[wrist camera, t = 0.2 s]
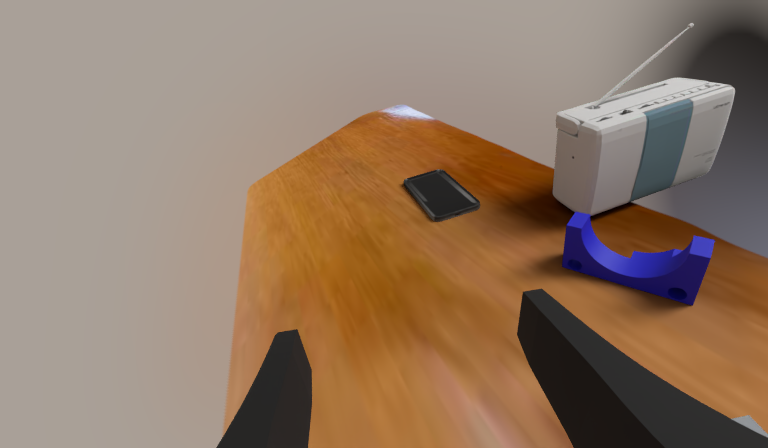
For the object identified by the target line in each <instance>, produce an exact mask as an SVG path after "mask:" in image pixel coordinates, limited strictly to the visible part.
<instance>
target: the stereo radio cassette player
mask: <svg viewBox="0 0 768 448" xmlns="http://www.w3.org/2000/svg"><path fill="white" fill-rule="evenodd" d="M693 26H694V24H693V23H691V24H689V25H688V28H692V27H693ZM688 28H686V29H685V30H684V31H683V32H682V33H684V32H685V31H686V30H687V29H688ZM682 33H680V34H679V35H678V36H676V37H675V38H674V39H672V40H671V41H670V42H669V43H668V44H666V45H665V46H664V47H663V48H661V49H660V50H659V51H657V52H656V53H655V54H654V55H653V56H651V57H650V58H649V59H648V60H646V61H645V62H644V63H643V64H642V65H641V66H639V67H638V68H637V69H636V70H634V71H633V72H632V73H631V74H630V75H628V76H627V77H626V78H625V79H624V80H622V81H621V82H620V83H619V84H618V85H616V86H615V87H614V88H613V89H612V90H611V91H609V92H608V93H607V94H606V95H604V96H603V97H602V98H601V99H600V100H598V101H595V102H592V103H588V104H585V105H581V106H578V107H575V108H571V109H568V110H565V111H561V112H558V113H557V117H556V127H557V128H559V129H558V134H557V146H556V158H555V171H554V183H553V196H554V197H555V198H556V199H557V200H558V201H560V202H561V203H562V204H564V205H565V206H566V207H568V208H569V209H571V210H572V211H574V212H580V213H585V214H590V216H592V215H595V214H598V213H601V212H603V211H606V210H609V209H612V208H614V207H617V206H620V205H623V204H626V203H628V202H631V201H634V200H636V199H639V198H642V197H645V196H648V195H650V194H653V193H656V192H658V191H661V190H664V189H666V188H670V187H672V186H675V185H677V184H681V183H683V182H686V181H688V180H692V179H694V178H697V177H700V176H702V175H705V174H706V173H707V172H708V171H709V170H710V168H711V166H712V164H713V162H714V159H715V156H716V154H717V151H718V148H719V146H720V143H721V140H722V137H723V134H724V130H725V127H726V124H727V120H728V118H729V114H730V111H731V107H732V104H733V100H734V94H735V89H734V88H733V87H732V86H730V85H726V84H719V83H713V82H712V83H711V82H707V81H701V80H694V79H686V78H672V79H669V80H665V81H662V82H658V83H655V84H652V85H648V86H645V87H642V88H638V89H635V90H632V91H628V92H625V93H622V94H618V95H615V96H612V97H609V96H610V95H611V94H613V93H614V92H615V91H616V90H617V89H619V88H620V87H621V86H622V85H623V84H625V83H626V82H627V81H628V80H629V79H631V78H632V77H633V76H634V75H635V74H637V73H638V72H639V71H640V70H641V69H642V68H644V67H645V66H646V65H647V64H648V63H650V61H652V60H653V59H654V58H655V57H656V56H658V55H659V54H660V53H661V52H662V51H664V49H665V48H667V47H668V46H669V45H670V44H671V43H672V42H674V41H675V40H676V39H677V38H678V37H679V36H680V35H682Z"/></svg>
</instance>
